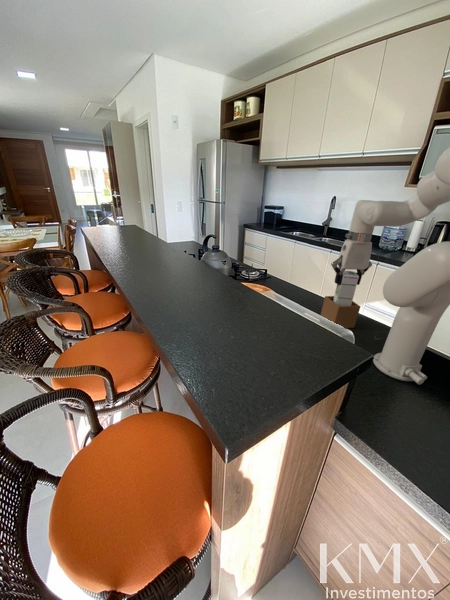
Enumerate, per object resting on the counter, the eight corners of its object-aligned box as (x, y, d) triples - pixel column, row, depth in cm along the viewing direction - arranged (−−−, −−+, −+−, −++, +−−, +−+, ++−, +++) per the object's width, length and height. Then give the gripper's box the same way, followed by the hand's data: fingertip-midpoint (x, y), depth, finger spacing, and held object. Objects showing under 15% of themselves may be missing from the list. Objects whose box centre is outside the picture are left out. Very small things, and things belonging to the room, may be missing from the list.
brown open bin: (354, 327, 99) (360, 306, 95) (333, 328, 98) (338, 306, 94) (339, 315, 108) (345, 295, 104) (320, 316, 107) (324, 296, 103)
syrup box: (350, 311, 97) (360, 276, 91) (334, 309, 98) (343, 274, 92) (346, 305, 102) (356, 271, 96) (331, 303, 103) (340, 269, 97)
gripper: (343, 239, 84) (331, 287, 91) (388, 239, 87) (373, 287, 94) (331, 234, 91) (321, 280, 98) (373, 235, 93) (360, 280, 101)
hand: (346, 283), depth 96 cm, fingers closed on syrup box, 7 cm apart
